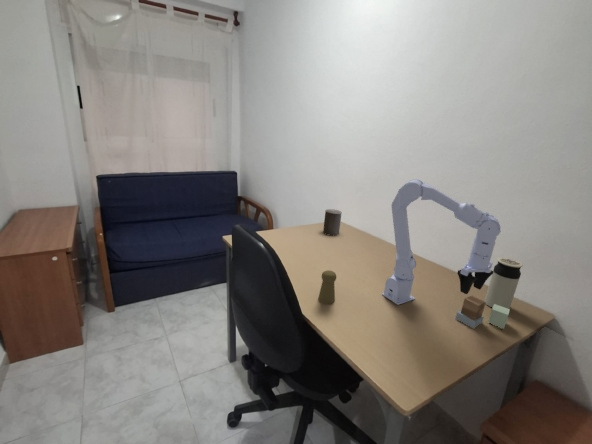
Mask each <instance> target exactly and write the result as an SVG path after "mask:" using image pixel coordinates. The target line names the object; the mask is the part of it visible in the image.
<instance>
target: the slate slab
mask: <svg viewBox="0 0 592 444" xmlns="http://www.w3.org/2000/svg"><path fill="white" fill-rule="evenodd" d="M461 310H462V309H460V310H458V311H457V312H456V315H455V320H456V319H457V321H458V320H459V322H460V321H461V323H462V322H463V323H462V324H463V325H465V324H466V326H467V325H468V326H467V327H469V326H470V327H469V328H471V327H472V328H471V329H473V328H474V329H476V328H477V327H478V325H479V324H480V325H482V324H483V321H484V318H485V316H484V315H482V317H480V318H478V319H476V320H473V319H471V318H469V317H467V316H466V315H464V314H462V313H461ZM480 325H479V326H480ZM476 326H477V327H476ZM475 327H476V328H475Z"/></svg>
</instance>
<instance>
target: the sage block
mask: <svg viewBox="0 0 592 444" xmlns="http://www.w3.org/2000/svg"><path fill="white" fill-rule="evenodd" d="M510 309H511V308H510ZM510 309H507V308H505V307H502V306H499V305H496V304H494V305H493V308H491V313H490V316H489V318H488V321H487V323H488V322H489V323H491V324H494V325H496V326H498V327H497V328H499V327H500V328H499V329H502V328H503V329H502V330H505V327H506V323H507V321H508V318H509V315H510ZM489 323H488V324H489ZM491 324H490V325H491ZM494 325H493V326H494ZM496 326H495V327H496Z"/></svg>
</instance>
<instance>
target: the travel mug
mask: <svg viewBox="0 0 592 444" xmlns="http://www.w3.org/2000/svg"><path fill="white" fill-rule="evenodd" d="M496 260H497V263H496V264H495V265H494V267H493V270H492V271H493V274H492V275H491V276H490V281H489V284H488V287H487V291H486V294H485V297H484V299H483V301H484V302H486V303H485V305H487V306H488V307H490V308H491V307H492V308H493V305H494V304H496V305H499V306H502V307H505V308H507V309H511V306H512V304H513V303H512V302H513V299H514V296H515V293H516V290H517V287H518V285H519V282H520V281H519V280H520V278H521V274H522V273H521V268H523V266H524V265H523V264H522V262H520V261H518V260H515V259H513V258H509V257H508V258H507V257H498V258H497V259H496ZM492 308H491V309H492Z"/></svg>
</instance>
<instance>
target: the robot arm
mask: <svg viewBox="0 0 592 444" xmlns="http://www.w3.org/2000/svg"><path fill="white" fill-rule="evenodd" d="M420 197H421V198H420ZM418 199H420V201H427V200H429V201H430V200H431V201H433V202H435V203H437V204H439V205H440V206H442V207H444V208H445V209H448V210H450V211H451V212H452V213H453V214H454V217H455V219H457V220H459V221H460V222H462V223H464V224H465V225H467V226H469V227H470V228H472V229H476V230H477V231H476V233H475V234H476V235H475V237H474V238H473V243H472V246H471V250H470V254H469V257H468V261H467V262H466V264H465V265H463V267H461V269H458V270H457V276H458V278H459V287H460V288H459V289H460V293H463V294H464V295H468V294H469V293H470V291H471V288H472V286H473V288H475V289H477V290H479V291H480V290H482V288H483V286H484V284H485V283H486V282H487V281H488V279H489V278H491V277H492V274H493V270H492V267H493V262H491V259H492V256H493V252H494V248H495V245H496V240H497V237H498V236H499V235H500V234H501V232H502V231H501V225H500V222H499V220H498V219H497V218H496V217H495V216H494V215H493V214H490V213H489V212H487V211H486V212H483V210H480V209H478V208H476V206H475V204H474V203H472V202H470V203H468V202H459V201H456V200H455V199H453V198H452V197H450V196H449V195H447V194H445V193H444V192H443V191H440V189H438V188H436V187H434V186H432V185H431V184H428V183H426V182H423V181H422V180H420V179H417V178H416V179H411V180H409V181H408V182H406V183H405V184H404V185H402V186H401V187H400V188H399V189H398V191H397V193H396V196H395V197H394V199H393V201H392V203H391V213H392V223H393V224H392V225H393V233H394V241H395V250H396V256H395V264H394V265H395V266H394V267H393V274H392V275H391V277H388V278H387V279H386V281H385V286H384V292H382V293H381V295H382V296H383V297H385V298H387V299H388V300H390V301H391V302H393V303H394V304H396V305H397V306H399V305H402V304H405V303H408V302H411V301H414V300H415V299H416V298H415V297H414V296H413V295H411V293H412V288H413V284H414V279H415V275H414V273H413V272H414V271H415V268H416V267H417V260H416V259H415V257H414V254H413V251H412V249H411V238H410V229H409V228H410V227H409V219H408V218H409V217H408V211H407V210H408V209H407V208H408V206H410V204H411V203H413V202H415V201H417V200H418ZM473 273H474V275H473Z"/></svg>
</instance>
